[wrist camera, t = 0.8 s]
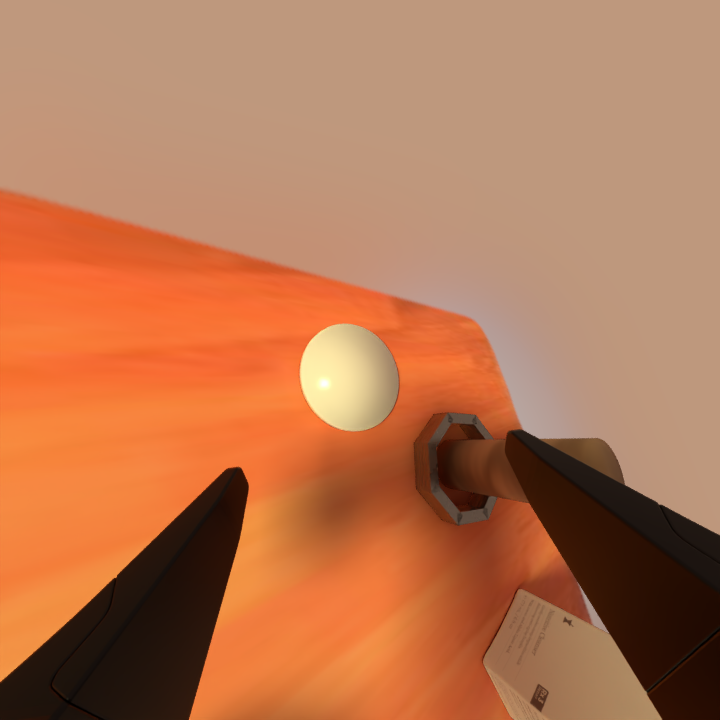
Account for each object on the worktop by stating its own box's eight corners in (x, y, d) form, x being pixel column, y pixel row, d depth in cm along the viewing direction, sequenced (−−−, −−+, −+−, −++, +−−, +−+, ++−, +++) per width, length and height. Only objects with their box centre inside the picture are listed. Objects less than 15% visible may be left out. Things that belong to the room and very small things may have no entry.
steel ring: (489, 511, 29) (507, 516, 27) (418, 524, 24) (433, 530, 23) (478, 417, 32) (493, 415, 30) (412, 412, 27) (425, 410, 26)
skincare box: (517, 585, 28) (763, 698, 16) (544, 635, 28) (812, 789, 16) (477, 666, 24) (781, 916, 11) (509, 727, 24) (849, 1046, 11)
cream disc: (397, 432, 26) (400, 432, 25) (294, 430, 21) (296, 429, 21) (393, 336, 29) (396, 334, 28) (303, 315, 24) (305, 313, 24)
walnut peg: (470, 487, 29) (633, 514, 18) (436, 490, 26) (599, 524, 15) (465, 440, 30) (613, 438, 19) (433, 439, 28) (579, 437, 17)
